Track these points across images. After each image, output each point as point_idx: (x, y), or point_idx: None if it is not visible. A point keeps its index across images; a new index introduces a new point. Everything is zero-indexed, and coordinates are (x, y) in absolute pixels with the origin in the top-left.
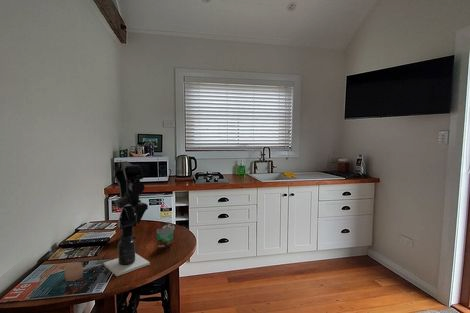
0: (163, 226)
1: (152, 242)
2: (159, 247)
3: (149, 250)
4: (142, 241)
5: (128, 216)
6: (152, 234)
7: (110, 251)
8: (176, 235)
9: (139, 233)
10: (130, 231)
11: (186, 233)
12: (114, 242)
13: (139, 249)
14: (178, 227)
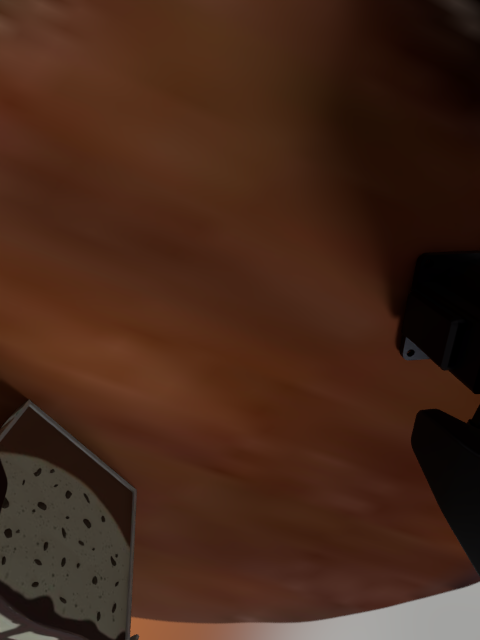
0: (27, 627)
1: (192, 412)
2: (17, 411)
3: (26, 331)
4: (276, 364)
5: (475, 461)
6: (352, 467)
7: (268, 16)
8: (199, 565)
9: (457, 408)
10: (443, 346)
11: (185, 612)
12: (464, 166)
13: (110, 275)
14: (326, 611)
